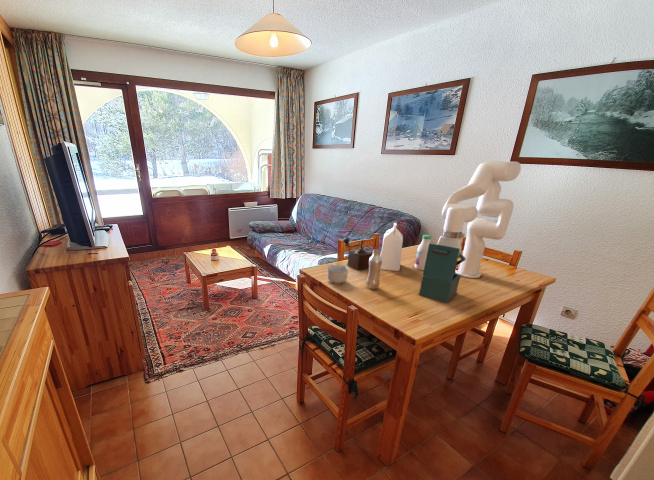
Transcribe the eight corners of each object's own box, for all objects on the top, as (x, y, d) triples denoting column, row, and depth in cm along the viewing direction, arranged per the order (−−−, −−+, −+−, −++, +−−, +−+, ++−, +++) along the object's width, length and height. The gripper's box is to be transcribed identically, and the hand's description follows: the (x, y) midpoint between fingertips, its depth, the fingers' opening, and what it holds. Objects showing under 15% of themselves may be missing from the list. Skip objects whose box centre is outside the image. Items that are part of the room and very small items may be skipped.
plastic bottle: (378, 286, 160) (384, 249, 152) (378, 291, 154) (383, 253, 146) (366, 284, 162) (370, 247, 154) (365, 289, 156) (369, 251, 148)
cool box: (429, 285, 160) (433, 268, 156) (456, 293, 152) (460, 274, 148) (419, 294, 150) (422, 276, 147) (446, 302, 142) (451, 283, 139)
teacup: (346, 286, 160) (348, 271, 157) (325, 284, 162) (326, 270, 159) (346, 276, 172) (348, 263, 169) (327, 275, 174) (328, 261, 171)
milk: (399, 270, 180) (406, 227, 170) (378, 268, 184) (384, 225, 174) (399, 264, 191) (405, 222, 181) (379, 262, 194) (385, 221, 184)
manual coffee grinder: (360, 262, 194) (363, 234, 187) (371, 268, 185) (375, 238, 178) (339, 266, 188) (341, 237, 181) (350, 272, 179) (353, 241, 172)
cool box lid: (429, 243, 141) (425, 245, 137) (460, 248, 133) (456, 250, 129) (423, 275, 147) (418, 277, 143) (451, 282, 139) (448, 285, 135)
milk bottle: (429, 267, 186) (435, 235, 178) (426, 271, 180) (433, 237, 172) (415, 265, 190) (421, 233, 182) (412, 268, 184) (418, 236, 176)
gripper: (475, 236, 138) (465, 273, 144) (434, 230, 149) (427, 264, 155) (470, 239, 133) (461, 277, 139) (428, 232, 144) (421, 268, 150)
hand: (443, 270), depth 147 cm, fingers closed on cup, 6 cm apart
